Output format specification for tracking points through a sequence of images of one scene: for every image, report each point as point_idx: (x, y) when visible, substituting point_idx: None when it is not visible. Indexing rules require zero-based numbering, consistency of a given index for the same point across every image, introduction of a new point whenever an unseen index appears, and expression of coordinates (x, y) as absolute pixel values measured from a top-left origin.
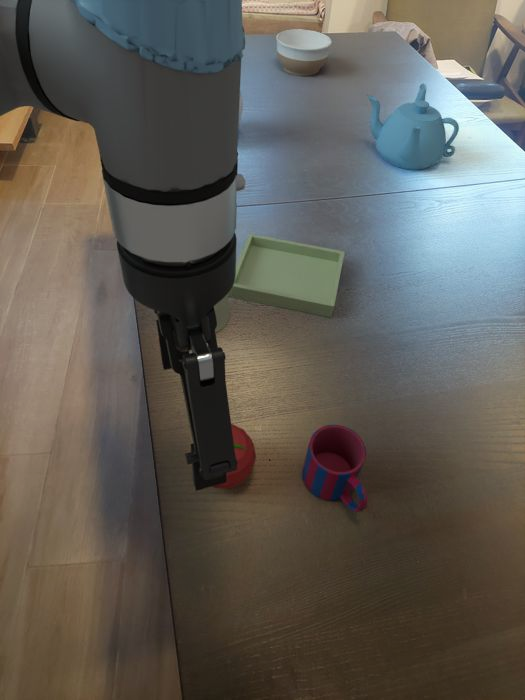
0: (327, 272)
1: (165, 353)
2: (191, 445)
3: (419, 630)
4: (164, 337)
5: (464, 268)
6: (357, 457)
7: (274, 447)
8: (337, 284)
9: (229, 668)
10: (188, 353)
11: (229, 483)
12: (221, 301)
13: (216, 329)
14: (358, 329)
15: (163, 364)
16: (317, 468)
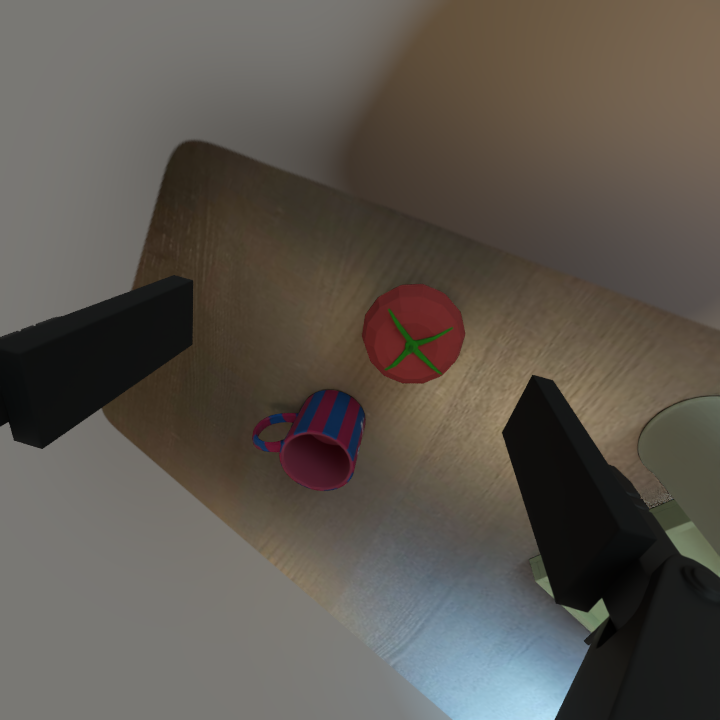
0: (600, 606)
1: (548, 423)
2: (10, 354)
3: (160, 384)
4: (575, 481)
5: (479, 685)
6: (312, 464)
7: (402, 391)
8: (565, 607)
9: (185, 193)
10: (512, 462)
11: (365, 318)
12: (679, 498)
13: (643, 443)
14: (488, 566)
15: (539, 387)
16: (308, 426)
